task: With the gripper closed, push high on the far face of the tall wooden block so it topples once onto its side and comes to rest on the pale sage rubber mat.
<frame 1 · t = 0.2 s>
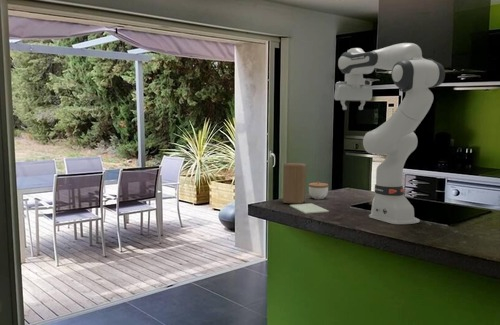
hand: (352, 109, 229), 48 cm above the worktop, tool pointing down, fingers open, 8 cm apart
lidded jar: (318, 198, 247), on the worktop
wooden block: (294, 202, 234), on the worktop, touching mat
mat: (308, 208, 220), on the worktop
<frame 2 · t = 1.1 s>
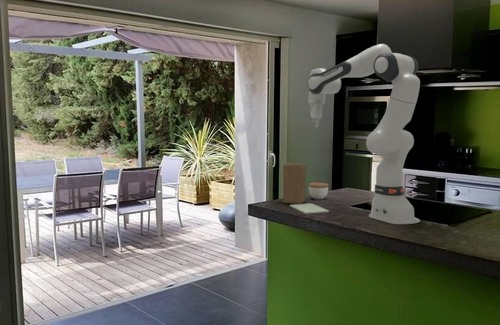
hand: (315, 126, 239), 39 cm above the worktop, tool pointing down, fingers open, 8 cm apart
nothing on the worktop moved.
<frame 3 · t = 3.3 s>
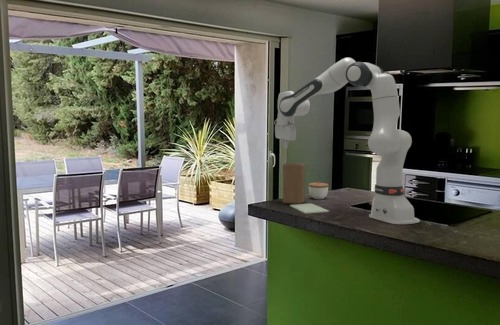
hand: (285, 147, 242), 27 cm above the worktop, tool pointing down, fingers closed
nothing on the worktop moved.
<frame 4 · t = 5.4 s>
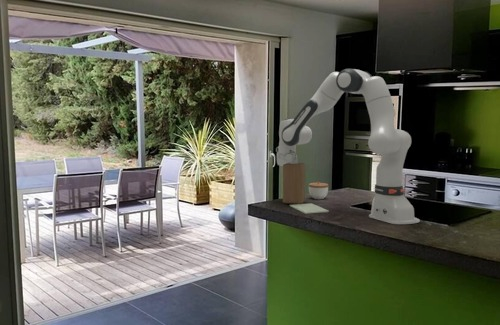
hand: (287, 175, 241), 13 cm above the worktop, tool pointing down, fingers closed
wooden block: (294, 202, 234), on the worktop, touching gripper, mat
everything else where it was.
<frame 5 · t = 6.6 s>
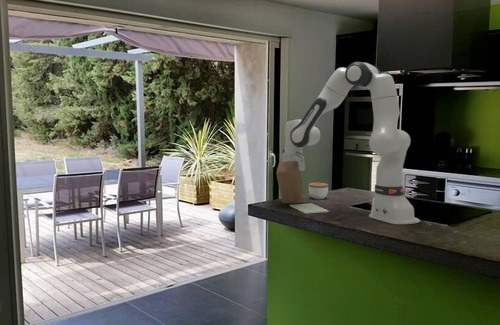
hand: (293, 177, 234), 13 cm above the worktop, tool pointing down, fingers closed
wooden block: (293, 198, 233), point 3 cm above the worktop, touching gripper, mat
everything else where it was.
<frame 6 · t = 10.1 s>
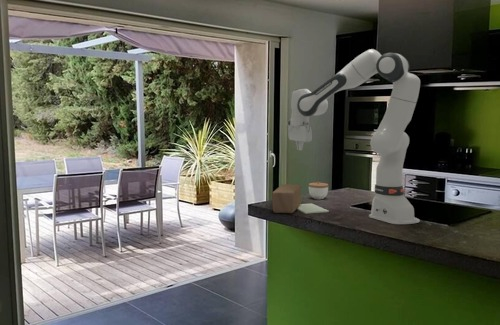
hand: (299, 150, 225), 28 cm above the worktop, tool pointing down, fingers closed
wooden block: (291, 193, 228), point 6 cm above the worktop, touching mat
everything else where it was.
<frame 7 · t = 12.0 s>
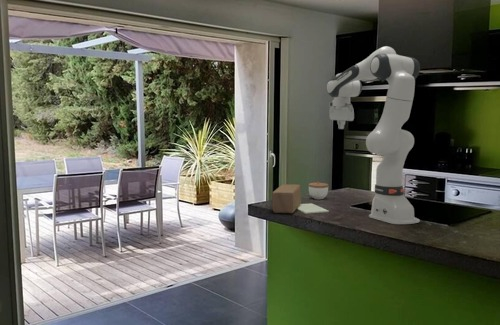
hand: (341, 128, 249), 37 cm above the worktop, tool pointing down, fingers closed
nothing on the worktop moved.
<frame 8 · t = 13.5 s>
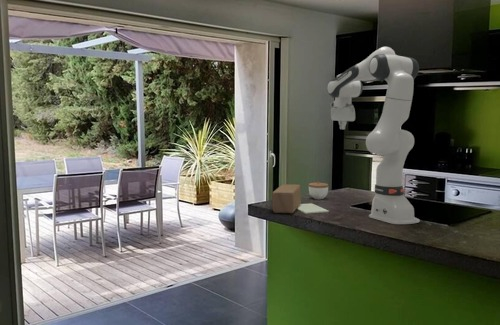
hand: (342, 129, 250), 37 cm above the worktop, tool pointing down, fingers closed
nothing on the worktop moved.
at the end: wooden block tilted 92°; wooden block touching mat, worktop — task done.
